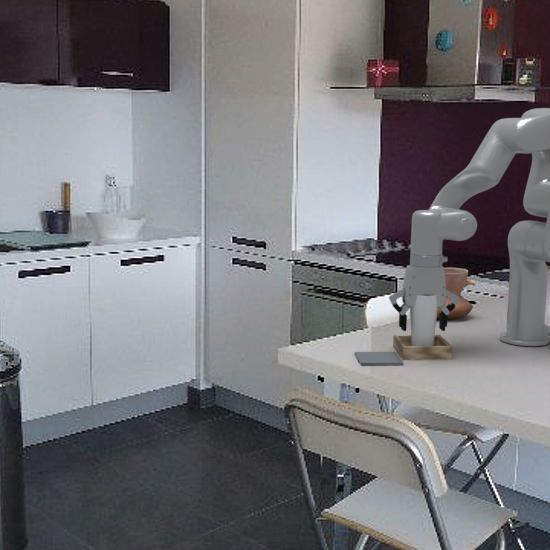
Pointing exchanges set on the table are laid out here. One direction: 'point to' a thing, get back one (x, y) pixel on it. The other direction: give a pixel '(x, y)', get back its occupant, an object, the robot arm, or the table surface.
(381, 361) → the slate coaster
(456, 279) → the ceramic jug
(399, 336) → the oak collar
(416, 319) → the drinking glass
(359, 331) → the table surface
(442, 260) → the robot arm
